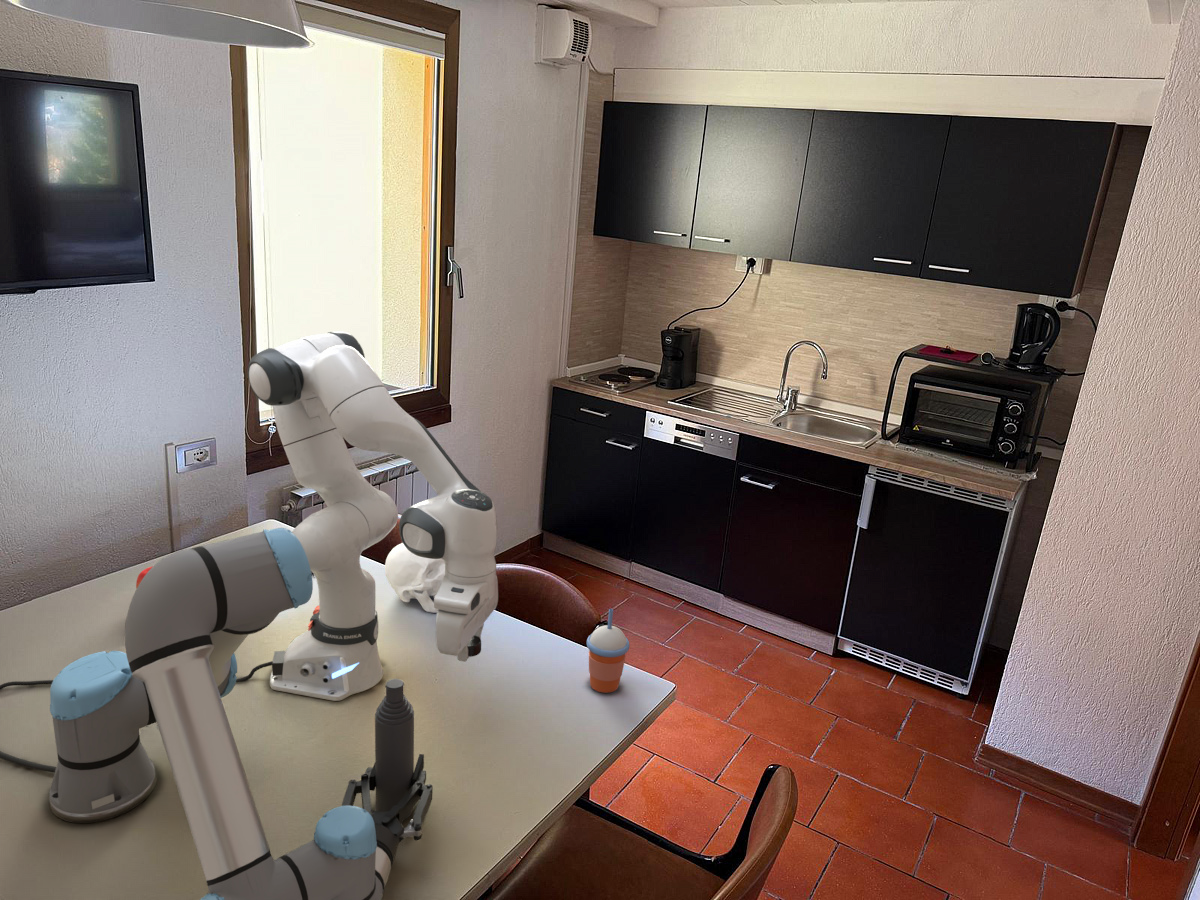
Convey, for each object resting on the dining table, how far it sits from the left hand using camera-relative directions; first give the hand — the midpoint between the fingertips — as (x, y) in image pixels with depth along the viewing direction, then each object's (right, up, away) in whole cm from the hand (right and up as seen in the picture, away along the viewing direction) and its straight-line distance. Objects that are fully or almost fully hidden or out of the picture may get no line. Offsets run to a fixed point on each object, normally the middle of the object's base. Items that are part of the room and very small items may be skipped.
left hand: (401, 759), depth 146 cm
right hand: (+11, +17, +7) cm, 21 cm away
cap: (+11, +19, +6) cm, 23 cm away
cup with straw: (+35, +2, +37) cm, 51 cm away
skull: (-10, +15, +67) cm, 70 cm away
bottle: (0, -7, -3) cm, 8 cm away
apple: (-69, +16, +54) cm, 89 cm away
